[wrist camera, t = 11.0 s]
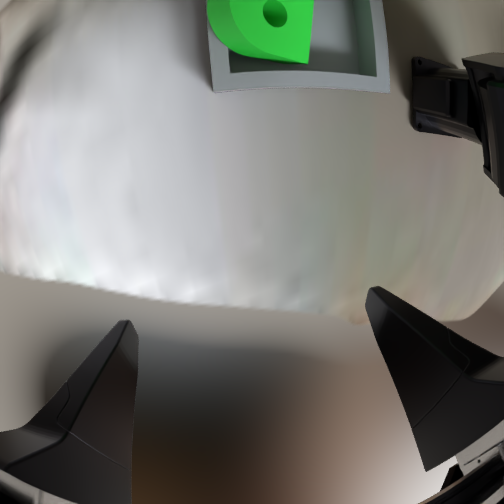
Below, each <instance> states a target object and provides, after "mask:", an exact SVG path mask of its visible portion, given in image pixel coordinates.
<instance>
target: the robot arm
mask: <svg viewBox="0 0 504 504" xmlns="http://www.w3.org/2000/svg"><path fill="white" fill-rule="evenodd" d="M417 60H418V61H419V64H418V63H417ZM462 62H463V65H464V66H465V67H466V70H465V69H454V68H451V67H449V66H446V65H443V64H440V63H437V62H434V61H431V60H428V59H425V58H422V57H413V59H412V70H413V128H414V130H416V131H419V132H426V133H433V134H440V135H447V136H453V137H458V138H465V139H468V140H470V141H473V142H476V143H478V144H481V145H482V147H483V156H484V165H483V168H484V173H485V174H486V175H487V176H488V177H489V178H490V179H491V180H492V181H493V182H494V183H495V184H496V185H497V187H498V188H499V193H500V194H501V195H502V196H503V197H504V53H487V54H481V55H476V56H471V57H466V58H462ZM418 124H419V127H418ZM365 308H366V311H367V314H368V317H369V320H370V323H371V326H372V329H373V332H374V336H375V338H376V341H377V344H378V346H379V348H380V351H381V353H382V355H383V358H384V360H385V362H386V364H387V367H388V369H389V372H390V374H391V377H392V379H393V381H394V384H395V386H396V389H397V391H398V394H399V396H400V399H401V402H402V404H403V407H404V409H405V412H406V415H407V418H408V420H409V423H410V426H411V428H412V432H413V435H414V438H415V441H416V444H417V447H418V450H419V453H420V456H421V459H422V462H423V465H424V469H425V471H426V472H427V471H429V470H431V469H433V468H434V467H436V466H438V465H440V464H441V463H443V462H444V461H446V460H448V459H450V458H451V457H453V456H456V459H457V461H458V463H457V464H455V465H454V466H452V467H451V468H449V471H448V473H447V476H446V478H445V481H444V483H443V485H442V488H441V490H440V492H438V493H437V494H435V495H433V496H431V497H430V498H428V499H426V500H424V501H423V502H420V503H418V504H504V357H500V356H497V355H495V354H493V353H491V352H489V351H487V350H486V349H484V348H482V347H480V346H478V345H476V344H474V343H472V342H471V341H469V340H467V339H465V338H463V337H462V336H460V335H459V334H457V333H455V332H454V331H452V330H451V329H449V328H447V327H446V326H444V325H443V324H441V323H439V322H438V321H436V320H435V319H433V318H431V317H430V316H428V315H427V314H425V313H423V312H422V311H420V310H419V309H417V308H415V307H414V306H412V305H410V304H409V303H407V302H405V301H404V300H402V299H400V298H399V297H397V296H395V295H394V294H392V293H390V292H389V291H387V290H385V289H384V288H382V287H380V286H376V287H371V288H370V289H369V290H368V294H367V299H366V303H365ZM138 342H139V339H138V334H137V332H136V330H135V328H134V326H133V324H132V323H131V321H130V320H120V321H118V322H117V324H116V325H115V326H114V327H113V328H112V329H111V330H110V331H109V333H108V334H107V335H106V336H105V337H104V338H103V339H102V340H101V342H99V344H98V345H97V346H96V347H95V348H94V349H93V351H92V352H91V353H90V354H89V355H88V356H87V357H86V358H85V360H84V361H83V362H82V363H81V364H80V365H79V367H78V368H77V369H76V370H75V371H74V372H73V374H72V375H71V376H70V377H69V378H68V380H67V381H66V382H65V383H64V384H63V385H62V387H61V388H60V389H59V390H58V391H57V392H56V394H55V395H54V396H53V397H52V398H51V399H50V400H49V401H48V403H46V404H45V406H44V407H43V408H42V409H41V410H40V411H39V412H38V413H37V414H36V415H35V416H34V417H33V418H32V419H31V420H30V421H29V422H28V423H27V424H25V425H24V426H22V427H20V428H18V429H14V430H9V431H4V432H0V504H132V502H131V455H132V434H133V419H134V407H135V396H136V386H137V378H138V344H139V343H138Z"/></svg>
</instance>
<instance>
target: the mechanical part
mask: <svg viewBox="0 0 504 504" xmlns="http://www.w3.org/2000/svg"><path fill="white" fill-rule="evenodd" d="M313 6H314V0H208V1H207V14H208V19H209V22H210V25H211V27H212V29H213V31H214V33H215V34H216V36H217V37H218V38H219V40H220V41H221V42H222V43H223V44H224V45H226V46H227V47H228V48H229V49H231V50H233V51H234V52H236V53H238V54H241V55H244V56H249V57H254V58H259V59H264V60H268V61H273V62H277V63H281V64H308V60H309V50H310V40H311V29H312V18H313Z"/></svg>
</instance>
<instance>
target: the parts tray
mask: <svg viewBox="0 0 504 504" xmlns="http://www.w3.org/2000/svg"><path fill="white" fill-rule="evenodd" d="M207 1H208V0H205V4H206V17H207V29H208V40H209V51H210V62H211V73H212V83H213V92H214V93H219V92H228V91H238V90H251V89H269V88H326V89H343V90H356V91H366V92H379V93H390V74H389V56H388V44H387V33H386V25H385V17H384V10H383V3H382V0H314V6H313V18H312V29H311V40H310V50H309V60H308V64H281V63H277V62H273V61H268V60H264V59H259V58H254V57H249V56H244V55H241V54H238V53H236V52H234V51H233V50H231V49H229V48H228V47H227V46H226V45H224V44H223V43H222V42H221V41H220V40H219V38H218V37H217V36H216V34H215V33H214V31H213V29H212V27H211V25H210V22H209V19H208V14H207Z"/></svg>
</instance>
